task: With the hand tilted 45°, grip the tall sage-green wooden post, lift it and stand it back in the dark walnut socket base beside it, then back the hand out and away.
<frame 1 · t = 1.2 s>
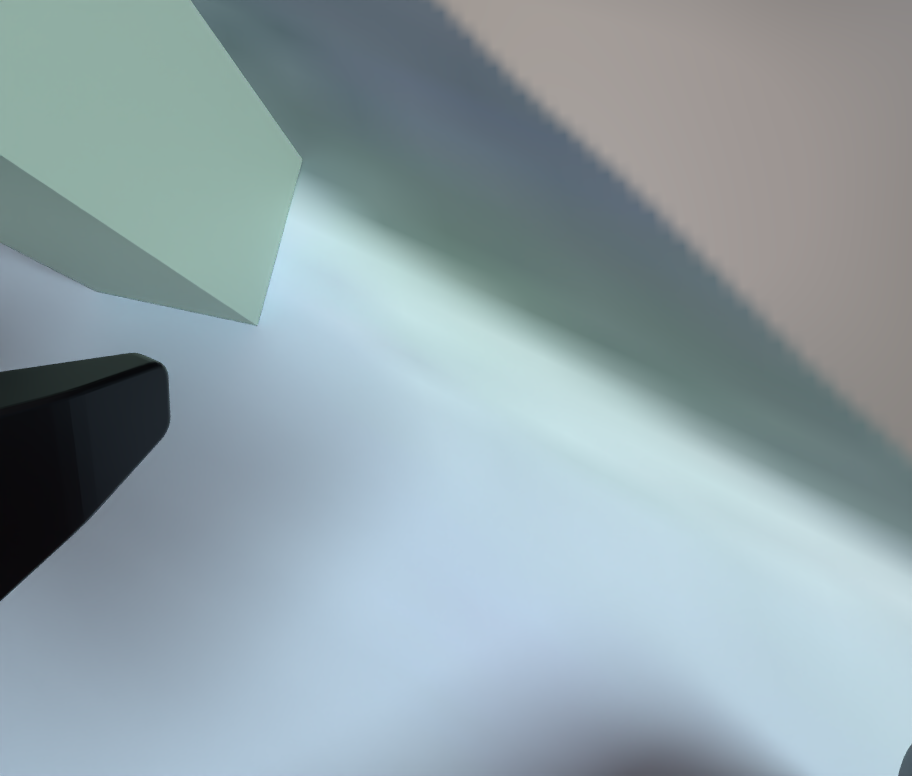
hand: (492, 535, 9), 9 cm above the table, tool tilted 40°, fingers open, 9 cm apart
post: (199, 225, 20), on the table
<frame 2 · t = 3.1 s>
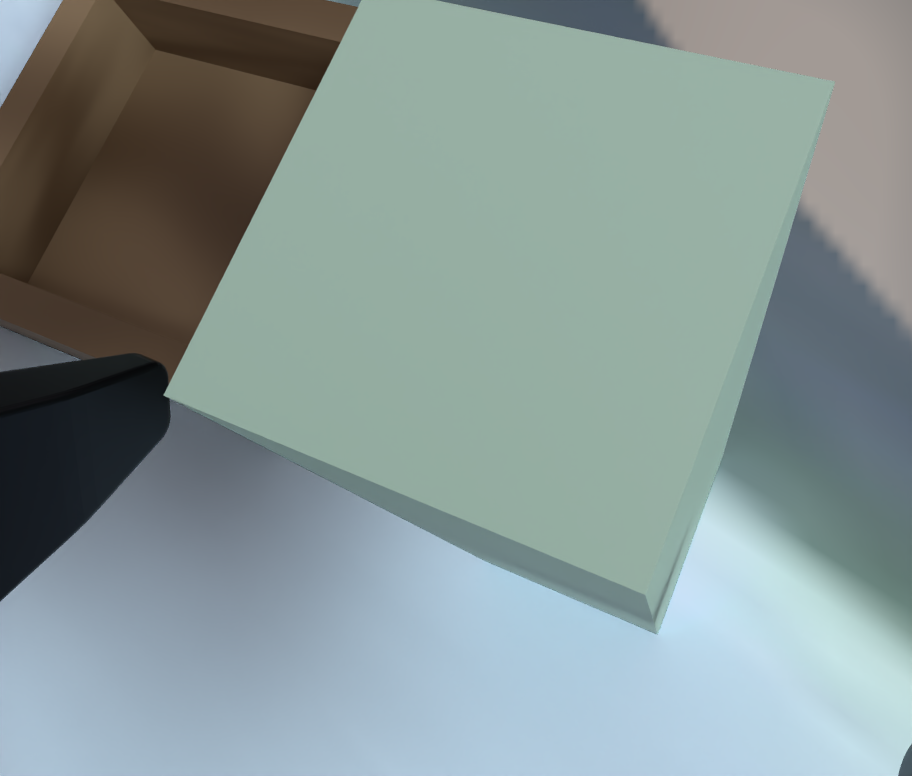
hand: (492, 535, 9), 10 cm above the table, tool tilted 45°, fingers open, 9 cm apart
post: (600, 508, 19), on the table
socket base: (213, 213, 23), on the table
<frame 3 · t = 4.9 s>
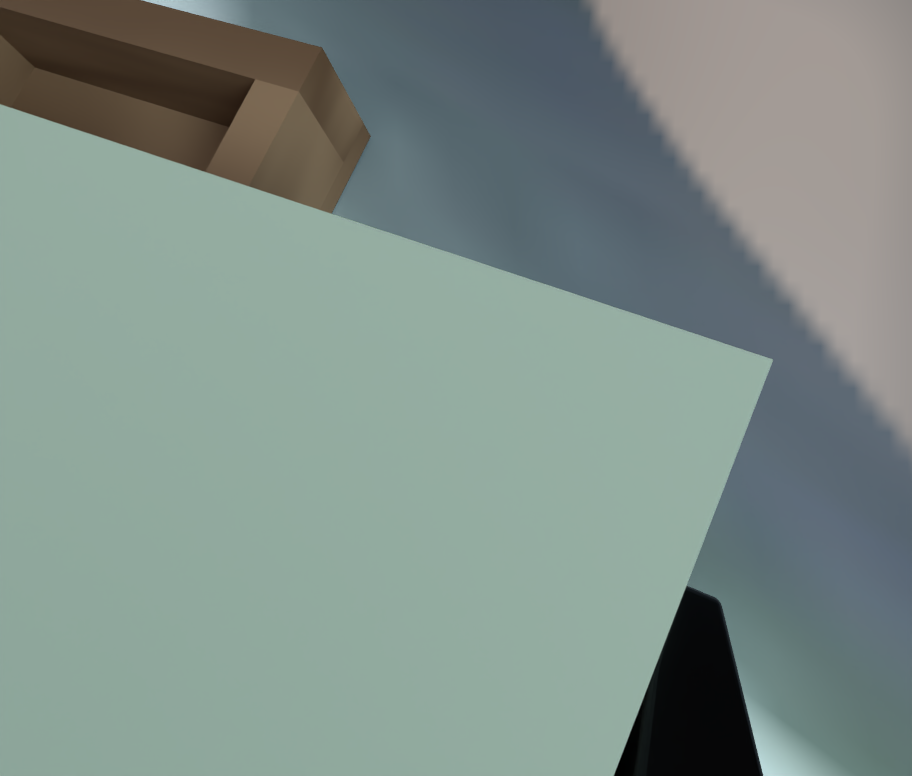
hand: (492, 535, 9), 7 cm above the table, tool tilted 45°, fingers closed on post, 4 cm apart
post: (525, 656, 15), on the table, touching gripper
socket base: (91, 264, 20), on the table
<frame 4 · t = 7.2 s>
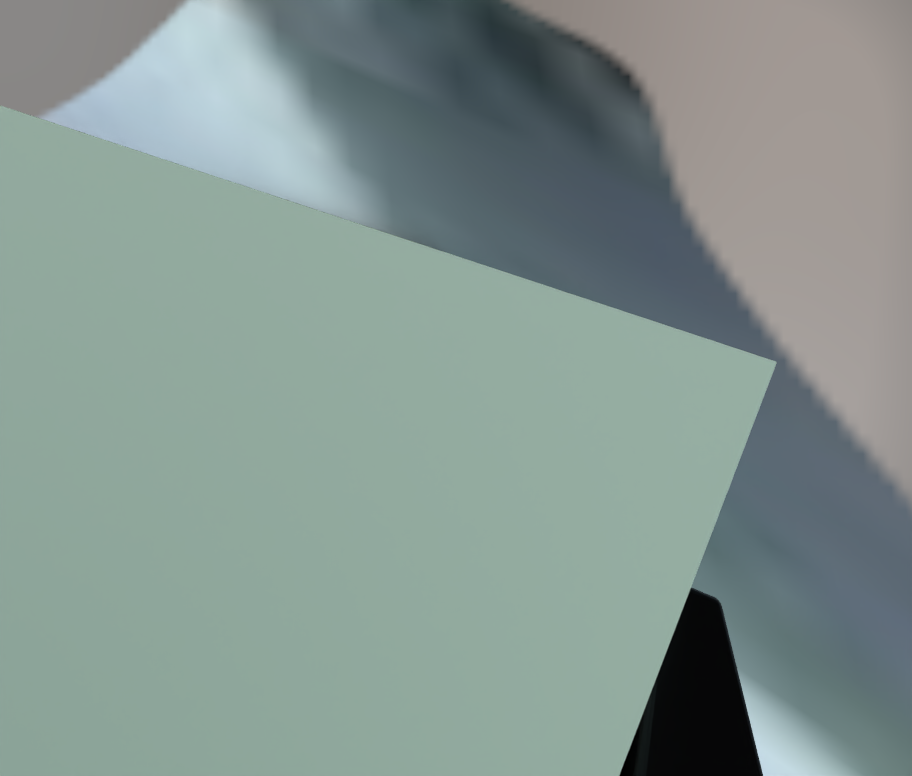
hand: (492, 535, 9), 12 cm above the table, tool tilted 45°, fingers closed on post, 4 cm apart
post: (526, 657, 15), point 6 cm above the table, touching gripper
when the fingers open (9 cm above the table, at t = 9.8 s): post drops 1 cm, resting on socket base.
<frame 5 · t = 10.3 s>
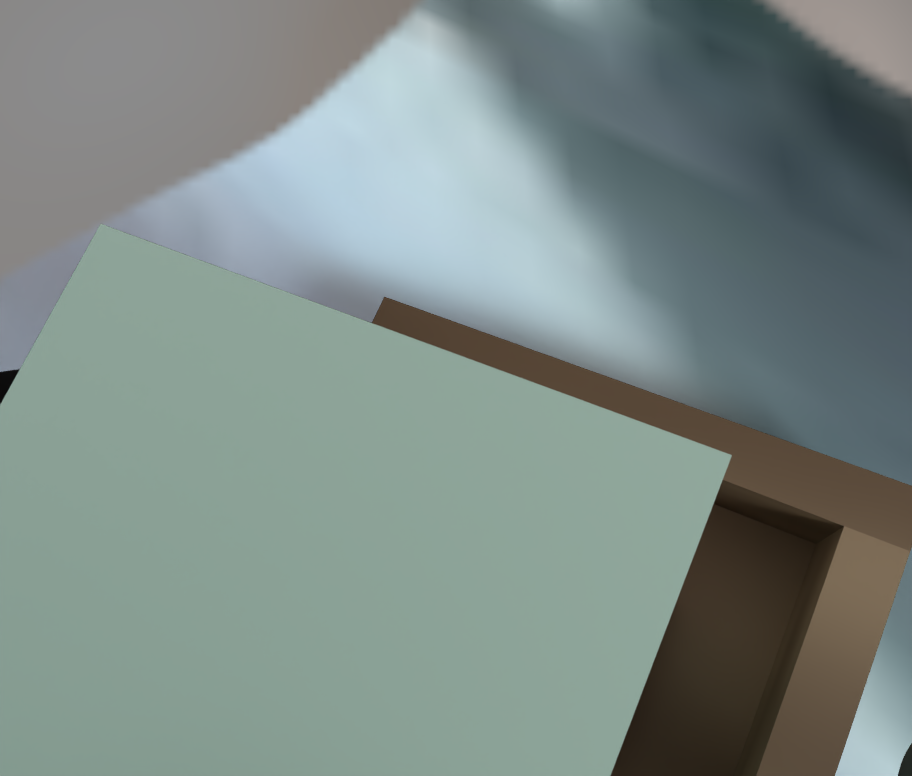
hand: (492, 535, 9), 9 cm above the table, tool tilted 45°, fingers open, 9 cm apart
post: (535, 654, 17), resting on socket base
socket base: (539, 653, 17), on the table
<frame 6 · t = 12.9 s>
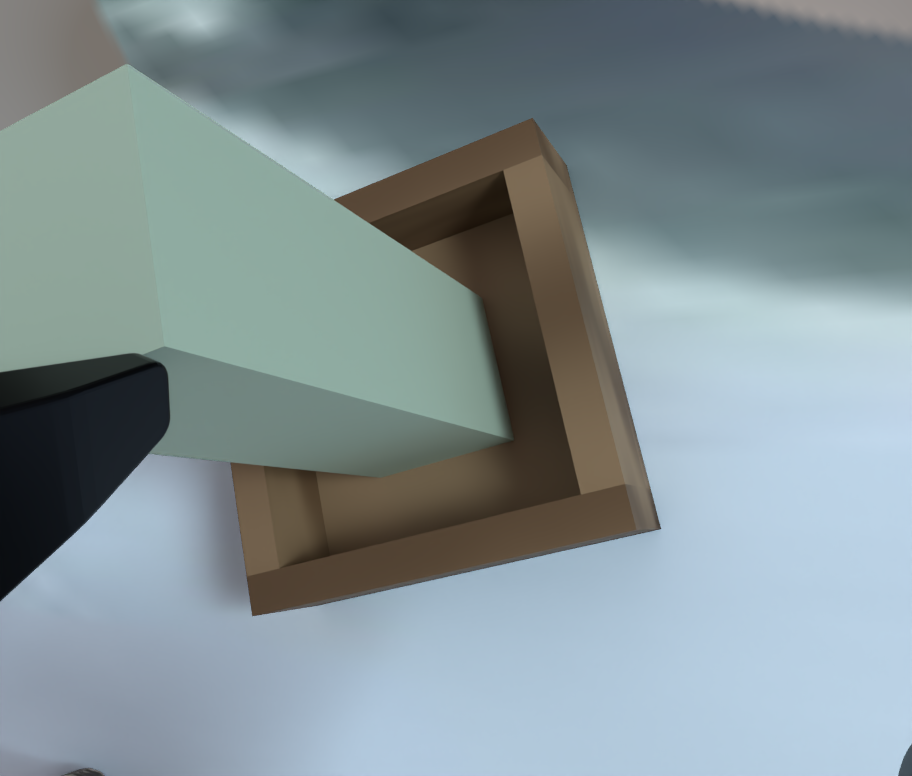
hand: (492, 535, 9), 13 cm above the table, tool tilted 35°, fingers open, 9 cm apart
post: (430, 388, 23), resting on socket base
socket base: (438, 390, 24), on the table
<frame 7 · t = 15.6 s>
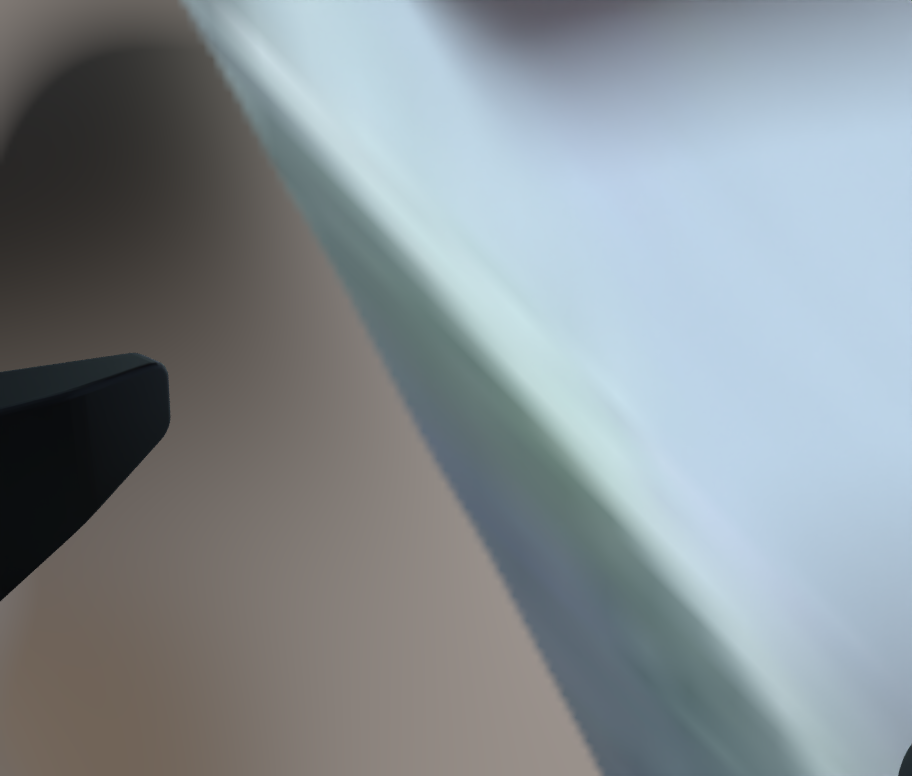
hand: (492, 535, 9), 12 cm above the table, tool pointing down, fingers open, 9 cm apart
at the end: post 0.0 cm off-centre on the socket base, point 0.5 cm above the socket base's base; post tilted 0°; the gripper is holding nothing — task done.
